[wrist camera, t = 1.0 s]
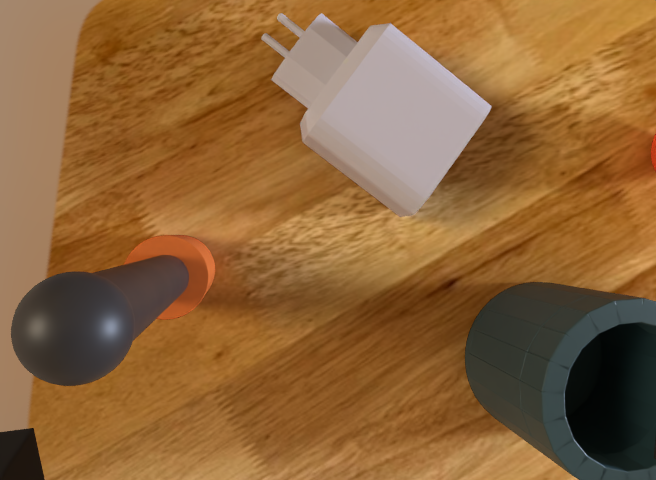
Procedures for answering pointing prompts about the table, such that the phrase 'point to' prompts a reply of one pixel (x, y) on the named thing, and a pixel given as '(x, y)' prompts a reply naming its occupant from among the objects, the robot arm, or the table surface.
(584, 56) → the table surface
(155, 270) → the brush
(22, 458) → the robot arm
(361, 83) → the charger
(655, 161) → the clementine
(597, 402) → the dark grey pipe sleeve
